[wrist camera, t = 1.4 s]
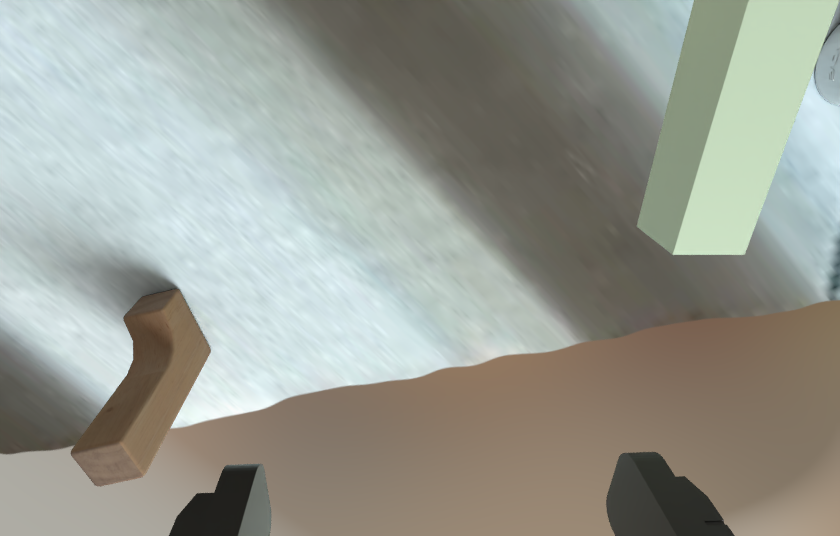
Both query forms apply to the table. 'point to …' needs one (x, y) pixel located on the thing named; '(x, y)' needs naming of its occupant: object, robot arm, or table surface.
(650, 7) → the table surface
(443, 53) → the table surface
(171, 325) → the wooden block
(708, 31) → the sage rod
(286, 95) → the table surface
